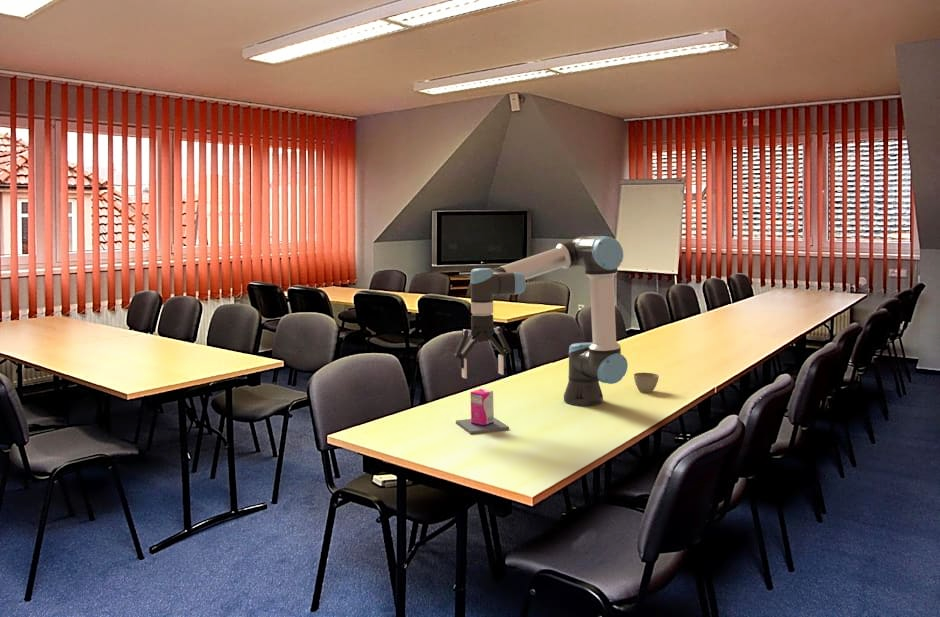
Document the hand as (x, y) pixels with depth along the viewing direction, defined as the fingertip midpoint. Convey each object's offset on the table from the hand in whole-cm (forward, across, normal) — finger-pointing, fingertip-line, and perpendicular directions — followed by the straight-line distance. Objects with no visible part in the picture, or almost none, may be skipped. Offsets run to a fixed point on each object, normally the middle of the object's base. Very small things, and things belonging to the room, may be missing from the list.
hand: (482, 375), depth 251 cm
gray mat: (+18, 0, 0) cm, 18 cm away
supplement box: (+17, 0, 0) cm, 17 cm away
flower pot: (+19, -81, -21) cm, 86 cm away
